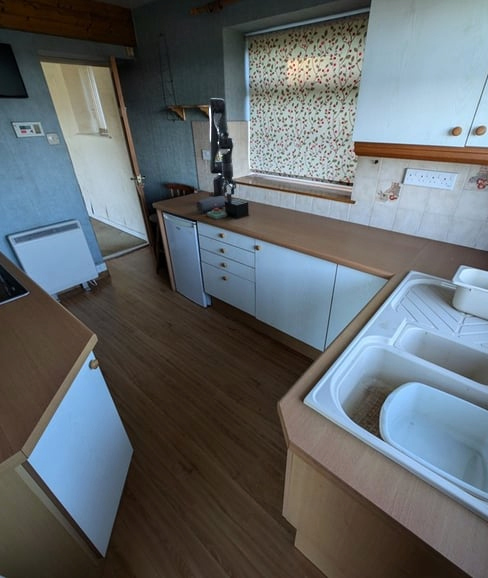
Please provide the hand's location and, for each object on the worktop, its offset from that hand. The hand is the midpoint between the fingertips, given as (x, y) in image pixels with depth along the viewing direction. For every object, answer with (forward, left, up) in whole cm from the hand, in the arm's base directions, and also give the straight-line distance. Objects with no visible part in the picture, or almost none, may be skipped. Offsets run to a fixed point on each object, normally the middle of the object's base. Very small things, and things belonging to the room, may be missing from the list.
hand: (229, 193), depth 211 cm
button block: (-5, -9, -16) cm, 19 cm away
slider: (0, 0, -5) cm, 5 cm away
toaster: (+4, +3, -16) cm, 16 cm away
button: (-5, -9, -12) cm, 16 cm away
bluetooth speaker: (-18, -4, -16) cm, 24 cm away
